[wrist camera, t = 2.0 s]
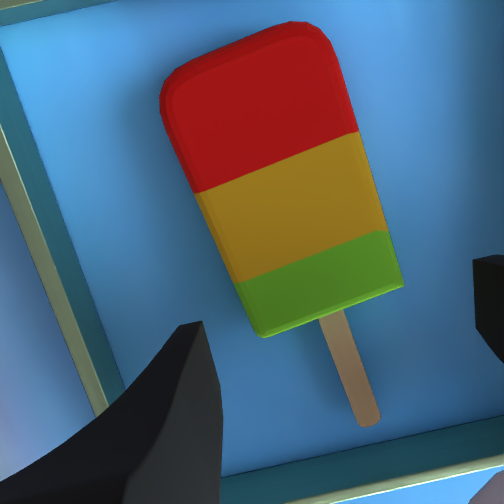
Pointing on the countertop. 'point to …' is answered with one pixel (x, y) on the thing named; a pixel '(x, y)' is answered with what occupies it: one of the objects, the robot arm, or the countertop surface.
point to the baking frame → (106, 372)
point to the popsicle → (285, 186)
